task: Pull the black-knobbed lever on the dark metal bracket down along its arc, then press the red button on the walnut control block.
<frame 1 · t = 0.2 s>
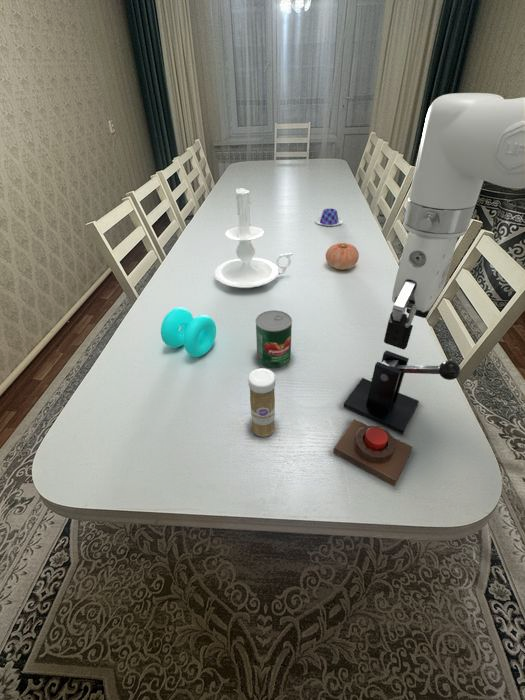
hand: (406, 329, 55), 22 cm above the table, tool pointing down, fingers open, 9 cm apart
bracket: (380, 406, 72), on the table
turquoise yoyo: (192, 348, 88), on the table
sprinkles bottle: (263, 428, 68), on the table
lever: (418, 369, 62), point 12 cm above the table, hinge at 25.0°
pudding: (328, 222, 156), on the table
canned tomato: (273, 359, 84), on the table
button: (375, 438, 61), point 4 cm above the table, slide at 0.1 cm
button block: (371, 453, 63), on the table
candlestick: (253, 280, 116), on the table
orange round vegetable: (340, 267, 122), on the table
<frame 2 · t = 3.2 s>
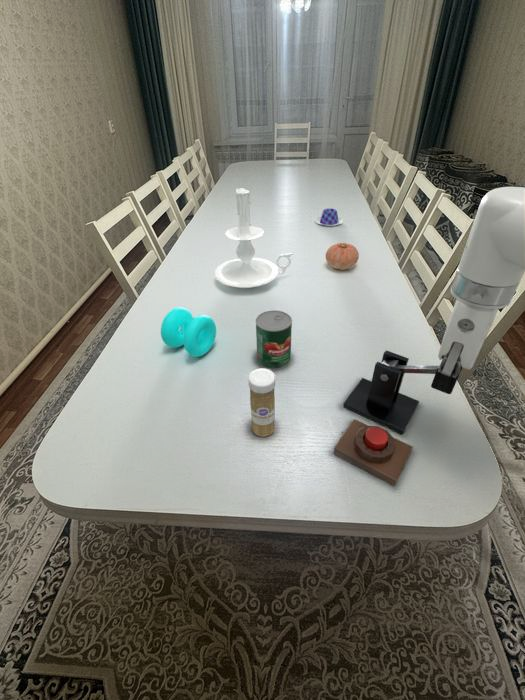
hand: (444, 382, 60), 11 cm above the table, tool pointing down, fingers closed on lever, 3 cm apart
lever: (418, 369, 62), point 12 cm above the table, hinge at 25.0°, touching gripper
everything else where it was.
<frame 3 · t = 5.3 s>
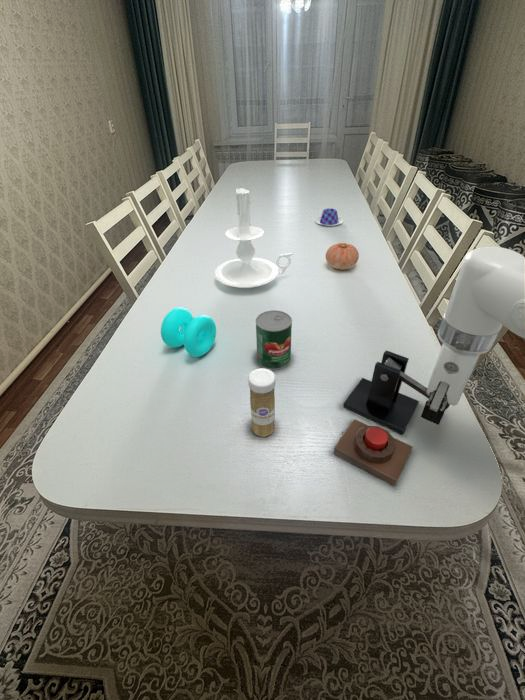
hand: (433, 412, 65), 4 cm above the table, tool pointing down, fingers closed on lever, 3 cm apart
lever: (415, 385, 64), point 9 cm above the table, hinge at -16.7°, touching gripper
everything else where it was.
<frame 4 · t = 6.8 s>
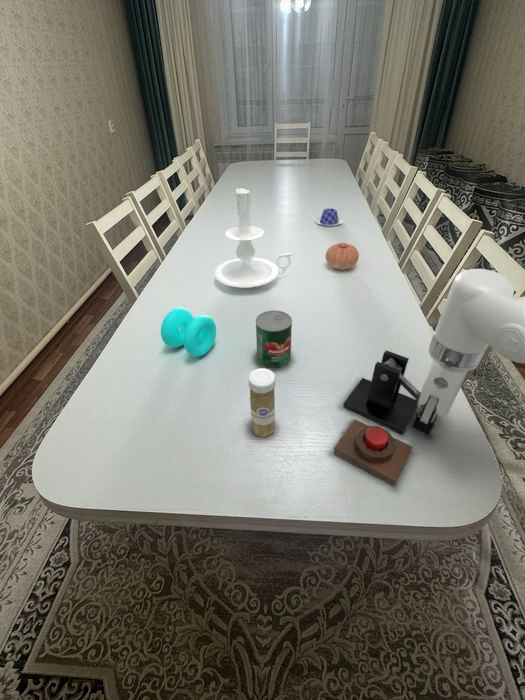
hand: (424, 422, 68), 1 cm above the table, tool pointing down, fingers open, 3 cm apart
lever: (410, 388, 65), point 7 cm above the table, hinge at -31.4°
everything else where it was.
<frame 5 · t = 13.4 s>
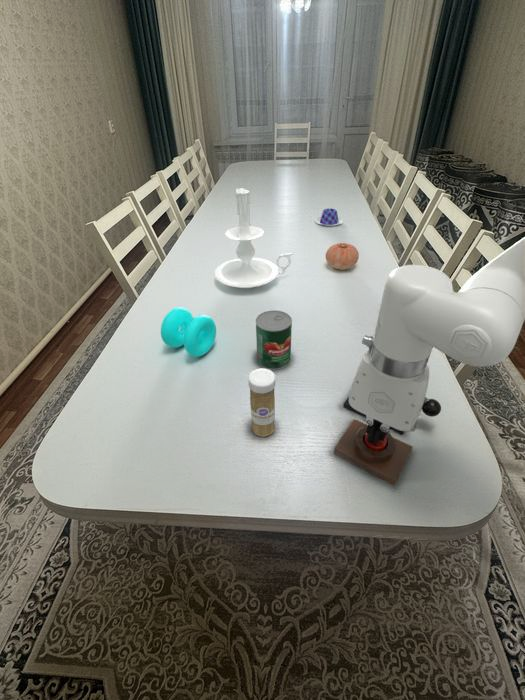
hand: (374, 438, 61), 4 cm above the table, tool pointing down, fingers closed
lever: (411, 388, 65), point 7 cm above the table, hinge at -30.5°
button: (374, 442, 61), point 3 cm above the table, slide at -0.8 cm, touching gripper
everything else where it was.
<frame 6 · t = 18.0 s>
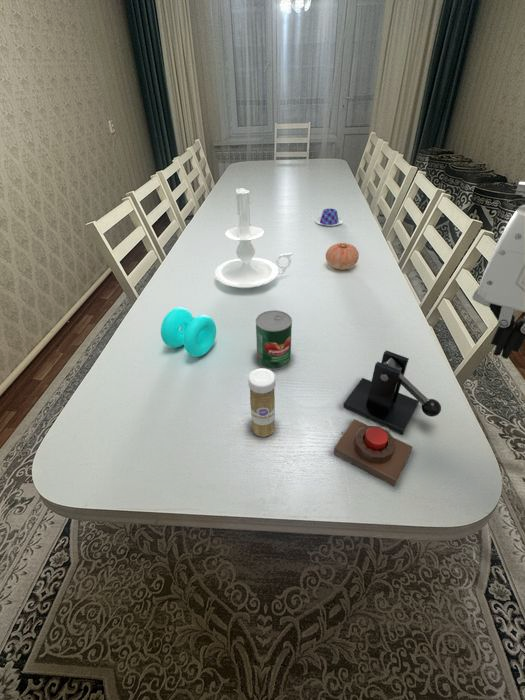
hand: (501, 351, 45), 25 cm above the table, tool pointing down, fingers closed
button: (375, 438, 61), point 4 cm above the table, slide at 0.1 cm
everything else where it was.
at the end: lever at -30° (first picture: +25°); button pushed in 1.1 cm at the most during the clip, back to where it started at the end; button slide at 0.1 cm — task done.
